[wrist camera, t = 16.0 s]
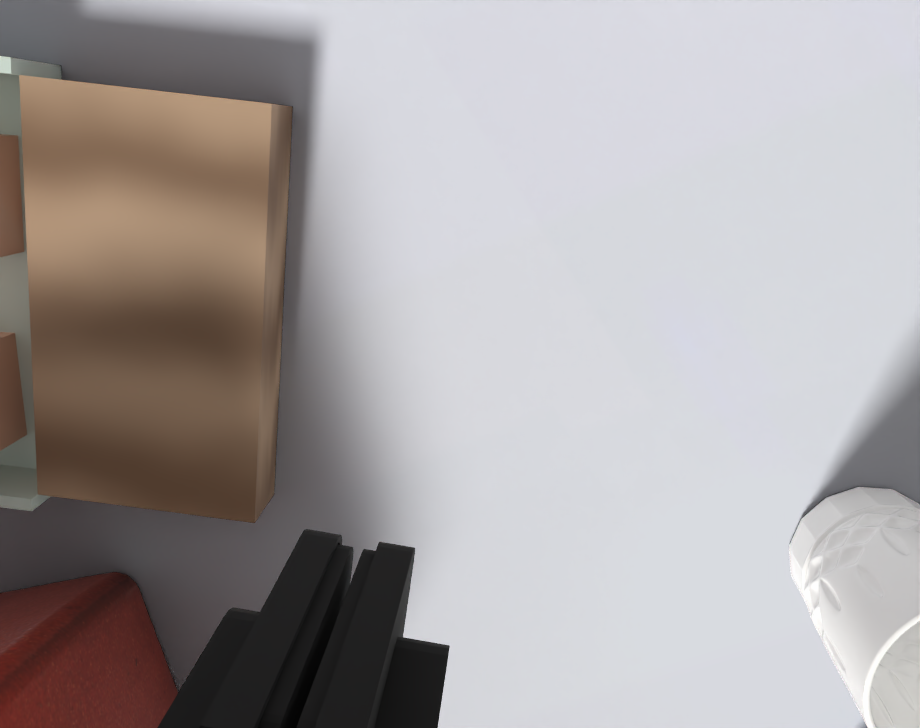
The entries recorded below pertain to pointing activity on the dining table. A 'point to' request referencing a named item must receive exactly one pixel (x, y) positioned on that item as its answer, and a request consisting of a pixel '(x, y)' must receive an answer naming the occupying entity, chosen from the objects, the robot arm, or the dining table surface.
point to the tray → (19, 303)
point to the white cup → (866, 597)
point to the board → (155, 294)
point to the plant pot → (81, 657)
